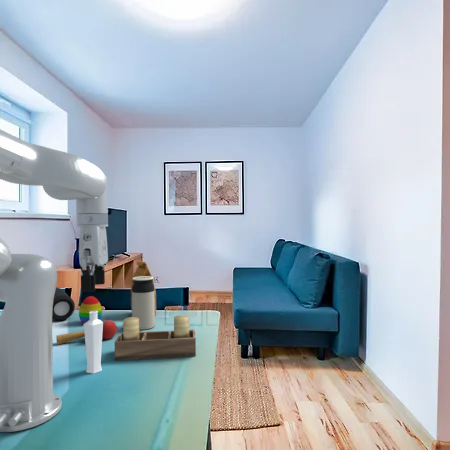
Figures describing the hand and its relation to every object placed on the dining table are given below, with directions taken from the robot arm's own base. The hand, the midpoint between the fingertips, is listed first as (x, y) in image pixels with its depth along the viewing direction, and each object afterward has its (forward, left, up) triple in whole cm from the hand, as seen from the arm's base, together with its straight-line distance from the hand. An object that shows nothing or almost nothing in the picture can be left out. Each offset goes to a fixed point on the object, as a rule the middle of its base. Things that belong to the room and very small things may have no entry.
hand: (93, 287), depth 87 cm
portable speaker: (+59, +30, -22) cm, 70 cm away
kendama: (+24, +8, -22) cm, 33 cm away
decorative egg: (+45, +13, -21) cm, 51 cm away
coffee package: (+53, -6, -21) cm, 57 cm away
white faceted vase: (0, 0, -21) cm, 21 cm away
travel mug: (+36, -8, -21) cm, 43 cm away
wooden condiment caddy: (+10, -15, -21) cm, 28 cm away
